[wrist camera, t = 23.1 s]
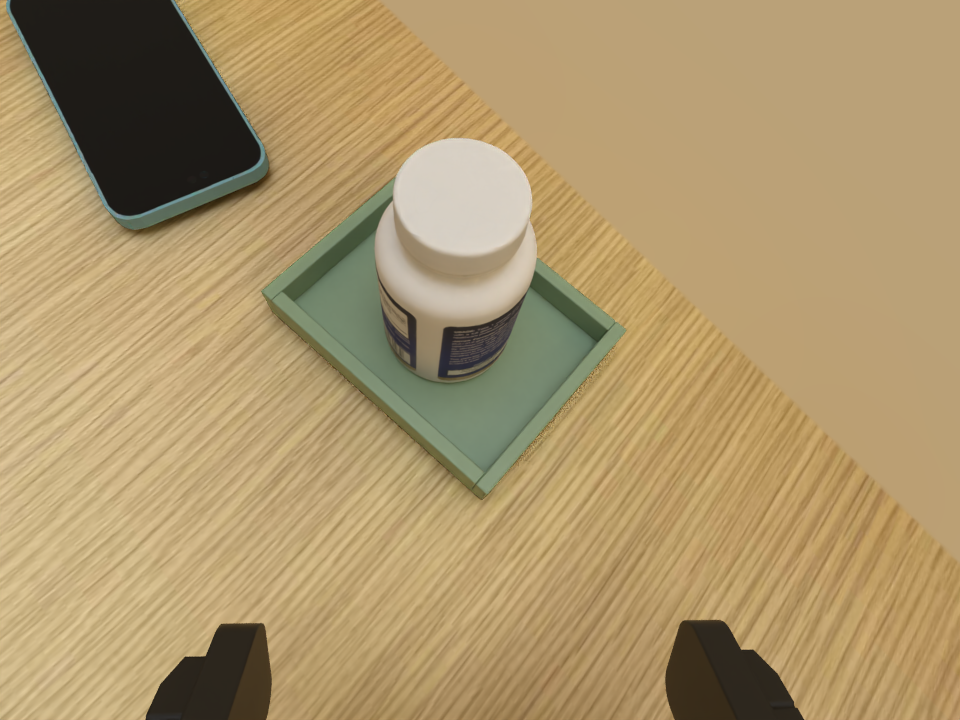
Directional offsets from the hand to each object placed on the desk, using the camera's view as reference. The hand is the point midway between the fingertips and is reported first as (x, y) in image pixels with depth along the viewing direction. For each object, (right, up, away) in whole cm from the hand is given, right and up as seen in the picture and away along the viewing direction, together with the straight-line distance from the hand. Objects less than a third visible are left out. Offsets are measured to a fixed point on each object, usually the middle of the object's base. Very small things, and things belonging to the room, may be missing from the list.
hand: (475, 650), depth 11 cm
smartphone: (-16, +19, +17) cm, 30 cm away
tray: (-1, +7, +15) cm, 16 cm away
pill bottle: (-1, +7, +14) cm, 16 cm away
